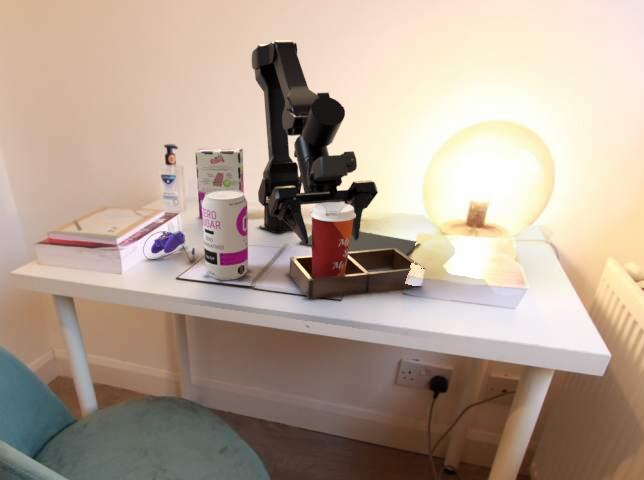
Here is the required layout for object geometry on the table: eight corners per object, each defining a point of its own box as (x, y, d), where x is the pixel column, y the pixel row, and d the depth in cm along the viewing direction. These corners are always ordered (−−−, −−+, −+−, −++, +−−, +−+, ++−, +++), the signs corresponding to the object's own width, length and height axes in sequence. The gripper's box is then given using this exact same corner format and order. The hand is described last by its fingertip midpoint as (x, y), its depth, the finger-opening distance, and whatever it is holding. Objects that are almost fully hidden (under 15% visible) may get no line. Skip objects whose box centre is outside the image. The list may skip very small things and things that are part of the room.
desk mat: (299, 244, 109) (299, 242, 109) (327, 227, 119) (327, 225, 119) (397, 263, 98) (397, 262, 98) (419, 243, 108) (419, 242, 108)
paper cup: (348, 293, 86) (356, 214, 79) (304, 290, 88) (308, 212, 81) (349, 276, 93) (356, 201, 86) (308, 273, 94) (312, 200, 87)
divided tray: (289, 274, 94) (290, 257, 92) (392, 264, 98) (395, 247, 96) (308, 299, 85) (309, 280, 83) (422, 286, 88) (425, 268, 87)
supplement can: (253, 267, 98) (253, 190, 90) (239, 283, 91) (238, 201, 83) (215, 263, 100) (211, 187, 92) (199, 278, 93) (194, 198, 86)
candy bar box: (244, 214, 129) (243, 148, 121) (241, 219, 125) (240, 151, 117) (203, 213, 131) (199, 147, 123) (198, 218, 127) (194, 151, 118)
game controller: (132, 239, 102) (172, 220, 106) (149, 275, 105) (187, 255, 109) (149, 237, 93) (192, 217, 97) (167, 276, 96) (208, 255, 100)
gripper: (273, 136, 80) (291, 222, 77) (380, 131, 84) (402, 213, 80) (261, 176, 91) (276, 253, 87) (356, 170, 94) (374, 244, 90)
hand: (331, 241), depth 86 cm, fingers open, 9 cm apart
